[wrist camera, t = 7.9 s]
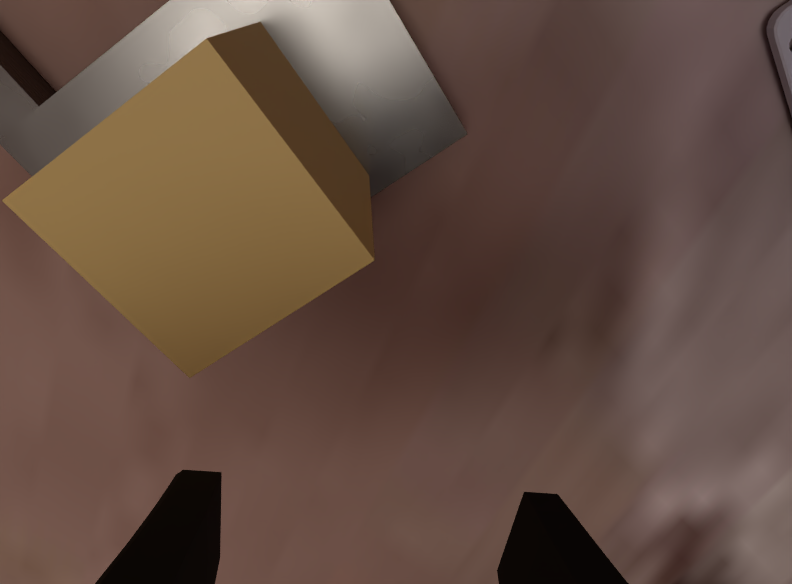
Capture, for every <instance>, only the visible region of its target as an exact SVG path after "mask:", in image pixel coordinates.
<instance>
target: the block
mask: <svg viewBox="0 0 792 584" xmlns="http://www.w3.org/2000/svg"><path fill="white" fill-rule="evenodd" d="M2 201H3V202H4V203H5V204H6V205H7V206H8V207H9V208H10V209H11V210H12V211H13V212H14V213H16V214H17V215H18V216H19V217H20V218H21V219H22V220H23V221H24V222H25V223H26V224H27V225H28V226H29V227H30V228H31V229H32V230H33V231H35V232H36V233H37V234H38V235H39V236H40V237H41V238H42V239H43V240H44V241H45V242H46V243H47V244H48V245H49V246H50V247H51V248H53V249H54V250H55V251H56V252H57V253H58V254H59V255H60V256H61V257H62V258H63V259H64V260H65V261H66V262H67V263H68V264H69V265H71V266H72V267H73V268H74V269H75V270H76V271H77V272H78V273H79V274H80V275H81V276H82V277H83V278H84V279H85V280H86V281H87V282H88V283H90V284H91V285H92V286H93V287H94V288H95V289H96V290H97V291H98V292H99V293H100V294H101V295H102V296H103V297H104V298H105V299H106V300H108V301H109V302H110V303H111V304H112V305H113V306H114V307H115V308H116V309H117V310H118V311H119V312H120V313H121V314H122V315H123V316H124V317H125V318H127V319H128V320H129V321H130V322H131V323H132V324H133V325H134V326H135V327H136V328H137V329H138V330H139V331H140V332H141V333H142V334H143V335H145V336H146V337H147V338H148V339H149V340H150V341H151V342H152V343H153V344H154V345H155V346H156V347H157V348H158V349H159V350H160V351H161V352H162V353H164V354H165V355H166V356H167V357H168V358H169V359H170V360H171V361H172V362H173V363H174V364H175V365H176V366H177V367H178V368H179V369H180V370H182V371H183V372H184V373H185V374H186V375H187V376H188V377H189V378H190V377H192V376H194V375H195V374H197V373H198V372H200V371H201V370H203V369H205V368H206V367H208V366H209V365H211V364H213V363H214V362H216V361H217V360H219V359H220V358H222V357H224V356H225V355H227V354H228V353H230V352H231V351H233V350H235V349H236V348H238V347H239V346H241V345H242V344H244V343H246V342H247V341H249V340H250V339H252V338H253V337H255V336H257V335H258V334H260V333H261V332H263V331H264V330H266V329H268V328H269V327H271V326H272V325H274V324H275V323H277V322H279V321H280V320H282V319H283V318H285V317H286V316H288V315H290V314H291V313H293V312H294V311H296V310H297V309H299V308H301V307H302V306H304V305H305V304H307V303H308V302H310V301H312V300H313V299H315V298H316V297H318V296H319V295H321V294H323V293H324V292H326V291H327V290H329V289H330V288H332V287H334V286H335V285H337V284H338V283H340V282H341V281H343V280H345V279H346V278H348V277H349V276H351V275H352V274H354V273H356V272H357V271H359V270H360V269H362V268H363V267H365V266H367V265H368V264H370V263H371V262H373V261H374V260H375V256H374V241H373V226H372V211H371V196H370V181H369V175H368V173H367V172H366V170H365V169H364V168H363V166H362V165H361V163H360V162H359V161H358V159H357V158H356V156H355V155H354V153H353V152H352V151H351V149H350V148H349V146H348V145H347V144H346V142H345V141H344V139H343V138H342V137H341V135H340V134H339V132H338V131H337V129H336V128H335V127H334V125H333V124H332V122H331V121H330V120H329V118H328V117H327V115H326V114H325V112H324V111H323V110H322V108H321V107H320V105H319V104H318V103H317V101H316V100H315V98H314V97H313V95H312V94H311V93H310V91H309V90H308V88H307V87H306V86H305V84H304V83H303V81H302V80H301V78H300V77H299V76H298V74H297V73H296V71H295V70H294V69H293V67H292V66H291V64H290V63H289V61H288V60H287V59H286V57H285V56H284V54H283V53H282V52H281V50H280V49H279V47H278V46H277V44H276V43H275V42H274V40H273V39H272V37H271V36H270V35H269V33H268V32H267V30H266V29H265V28H264V26H263V25H262V23H261V22H257V23H254V24H251V25H248V26H244V27H241V28H238V29H235V30H232V31H228V32H225V33H222V34H219V35H216V36H212V37H209V38H206V39H205V40H204V41H202V42H201V43H200V44H199V45H197V46H196V47H195V48H194V49H192V50H191V51H190V52H189V53H187V54H186V55H185V56H184V57H182V58H181V59H180V60H179V61H177V62H176V63H175V64H173V65H172V66H171V67H170V68H168V69H167V70H166V71H165V72H163V73H162V74H161V75H160V76H158V77H157V78H156V79H155V80H153V81H152V82H151V83H150V84H148V85H147V86H146V87H145V88H143V89H142V90H141V91H139V92H138V93H137V94H136V95H134V96H133V97H132V98H131V99H129V100H128V101H127V102H126V103H124V104H123V105H122V106H121V107H119V108H118V109H117V110H116V111H114V112H113V113H112V114H111V115H109V116H108V117H107V118H105V119H104V120H103V121H102V122H100V123H99V124H98V125H97V126H95V127H94V128H93V129H92V130H90V131H89V132H88V133H87V134H85V135H84V136H83V137H82V138H80V139H79V140H78V141H76V142H75V143H74V144H73V145H71V146H70V147H69V148H68V149H66V150H65V151H64V152H63V153H61V154H60V155H59V156H58V157H56V158H55V159H54V160H53V161H51V162H50V163H49V164H48V165H46V166H45V167H44V168H42V169H41V170H40V171H39V172H37V173H36V174H35V175H34V176H32V177H31V178H30V179H29V180H27V181H26V182H25V183H24V184H22V185H21V186H20V187H19V188H17V189H16V190H15V191H14V192H12V193H11V194H10V195H8V196H7V197H6V198H5V199H3V200H2Z"/></svg>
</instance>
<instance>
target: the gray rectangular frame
mask: <svg viewBox="0 0 792 584" xmlns="http://www.w3.org/2000/svg"><path fill="white" fill-rule="evenodd" d="M257 22H261V23H262V25H263V26H264V28H265V29H266V30H267V32H268V33H269V35H270V36H271V37H272V39H273V40H274V42H275V43H276V44H277V46H278V47H279V49H280V50H281V52H282V53H283V54H284V56H285V57H286V59H287V60H288V61H289V63H290V64H291V66H292V67H293V69H294V70H295V71H296V73H297V74H298V76H299V77H300V78H301V80H302V81H303V83H304V84H305V86H306V87H307V88H308V90H309V91H310V93H311V94H312V95H313V97H314V98H315V100H316V101H317V103H318V104H319V105H320V107H321V108H322V110H323V111H324V112H325V114H326V115H327V117H328V118H329V120H330V121H331V122H332V124H333V125H334V127H335V128H336V129H337V131H338V132H339V134H340V135H341V137H342V138H343V139H344V141H345V142H346V144H347V145H348V146H349V148H350V149H351V151H352V152H353V153H354V155H355V156H356V158H357V159H358V161H359V162H360V163H361V165H362V166H363V168H364V169H365V170H366V172H367V173H368V175H369V181H370V196H371V197H372V196H374V195H375V194H377V193H378V192H380V191H381V190H383V189H384V188H386V187H387V186H389V185H390V184H392V183H394V182H395V181H397V180H398V179H400V178H401V177H403V176H404V175H406V174H407V173H409V172H410V171H412V170H413V169H415V168H416V167H418V166H419V165H421V164H423V163H424V162H426V161H427V160H429V159H430V158H432V157H433V156H435V155H436V154H438V153H439V152H441V151H442V150H444V149H445V148H447V147H449V146H450V145H452V144H453V143H455V142H456V141H458V140H459V139H461V138H462V137H464V136H465V135H467V132H466V131H465V129H464V127H463V125H462V124H461V122H460V120H459V119H458V117H457V115H456V113H455V112H454V110H453V108H452V107H451V105H450V103H449V102H448V100H447V98H446V96H445V95H444V93H443V91H442V90H441V88H440V86H439V84H438V83H437V81H436V79H435V78H434V76H433V74H432V73H431V71H430V69H429V67H428V66H427V64H426V62H425V61H424V59H423V57H422V55H421V54H420V52H419V50H418V49H417V47H416V45H415V43H414V42H413V40H412V38H411V37H410V35H409V33H408V32H407V30H406V28H405V26H404V25H403V23H402V21H401V20H400V18H399V16H398V14H397V13H396V11H395V9H394V8H393V6H392V4H391V3H390V1H389V0H170V1H168V2H167V3H166V4H165V5H163V6H162V7H161V8H160V9H159V10H157V11H156V12H155V13H154V14H152V15H151V16H150V17H149V18H147V19H146V20H145V21H144V22H142V23H141V24H140V25H139V26H138V27H136V28H135V29H134V30H133V31H131V32H130V33H129V34H128V35H126V36H125V37H124V38H123V39H122V40H120V41H119V42H118V43H117V44H115V45H114V46H113V47H112V48H110V49H109V50H108V51H107V52H106V53H104V54H103V55H102V56H101V57H99V58H98V59H97V60H96V61H94V62H93V63H92V64H91V65H89V66H88V67H87V68H86V69H85V70H83V71H82V72H81V73H80V74H78V75H77V76H76V77H75V78H73V79H72V80H71V81H70V82H69V83H67V84H66V85H65V86H64V87H62V88H61V89H60V90H59V91H57V92H55V91H54V90H53V89H52V88H51V87H50V86H49V85H48V83H47V82H46V81H45V80H44V79H43V78H42V77H41V76H40V75H39V74H38V72H37V71H36V70H35V69H34V68H33V67H32V66H31V65H30V64H29V63H28V61H27V60H26V59H25V58H24V57H23V56H22V55H21V54H20V53H19V52H18V50H17V49H16V48H15V47H14V46H13V45H12V44H11V43H10V42H9V40H8V39H7V38H6V37H5V36H4V35H3V34H2V33H1V32H0V145H1V146H2V147H3V148H4V149H5V150H6V151H7V152H8V153H9V154H10V155H11V156H12V157H13V158H14V159H15V160H16V161H17V162H18V163H19V164H20V165H21V166H22V167H23V168H24V169H25V170H26V171H27V172H28V173H29V174H30V175H31V176H34V175H35V174H36V173H37V172H39V171H40V170H41V169H42V168H44V167H45V166H46V165H48V164H49V163H50V162H51V161H53V160H54V159H55V158H56V157H58V156H59V155H60V154H61V153H63V152H64V151H65V150H66V149H68V148H69V147H70V146H71V145H73V144H74V143H75V142H76V141H78V140H79V139H80V138H82V137H83V136H84V135H85V134H87V133H88V132H89V131H90V130H92V129H93V128H94V127H95V126H97V125H98V124H99V123H100V122H102V121H103V120H104V119H105V118H107V117H108V116H109V115H111V114H112V113H113V112H114V111H116V110H117V109H118V108H119V107H121V106H122V105H123V104H124V103H126V102H127V101H128V100H129V99H131V98H132V97H133V96H134V95H136V94H137V93H138V92H139V91H141V90H142V89H143V88H145V87H146V86H147V85H148V84H150V83H151V82H152V81H153V80H155V79H156V78H157V77H158V76H160V75H161V74H162V73H163V72H165V71H166V70H167V69H168V68H170V67H171V66H172V65H173V64H175V63H176V62H177V61H179V60H180V59H181V58H182V57H184V56H185V55H186V54H187V53H189V52H190V51H191V50H192V49H194V48H195V47H196V46H197V45H199V44H200V43H201V42H202V41H204V40H205V39H206V38H209V37H212V36H216V35H219V34H222V33H225V32H228V31H232V30H235V29H238V28H241V27H244V26H248V25H251V24H254V23H257Z"/></svg>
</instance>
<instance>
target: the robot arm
mask: <svg viewBox="0 0 792 584" xmlns="http://www.w3.org/2000/svg"><path fill="white" fill-rule="evenodd" d="M767 37H768V40H769V43H770V47H771V50H772V53H773V57H774V60H775V63H776V66H777V70H778V73H779V76H780V80H781V83H782V86H783V90H784V93H785V96H786V99H787V103H788V106H789V109H790V113H791V116H792V51H791V50H790V49H789V43H790V41H791V39H792V0H790V1H789V2H787V3H785V4H784V5H782V6H781V7H779V8H778V9H777V10H776V11H775V12H774V13H773V14H772V16H771V17H770V19H769V21H768V25H767ZM220 526H221V472H209V471H193V470H182V471H181V472H179V473H178V474H176V476H175V477H174V479H173V480H172V482H171V483H170V485H169V486H168V488H167V489H166V491H165V492H164V494H163V495H162V497H161V498H160V500H159V501H158V503H157V504H156V505H155V507H154V508H153V510H152V511H151V512H150V514H149V515H148V516H147V518H146V519H145V521H144V522H143V523H142V525H141V526H140V527H139V529H138V530H137V531H136V533H135V534H134V535H133V537H132V538H131V539H130V541H129V542H128V543H127V544H126V546H125V547H124V548H123V549H122V551H121V552H120V553H119V554H118V556H117V557H116V558H115V559H114V561H113V562H112V563H111V564H110V566H109V567H108V568H107V569H106V571H105V572H104V573H103V574H102V576H101V577H100V578H99V579H98V581H97V582H96V583H95V584H215V580H216V575H217V570H218V565H219V560H220ZM497 572H498V580H499V584H628V583H627V582H626V580H625V579H624V578H623V577H622V575H621V574H620V573H619V572H618V570H617V569H616V568H615V567H614V565H613V564H612V563H611V562H610V560H609V559H608V558H607V557H606V555H605V554H604V553H603V552H602V550H601V549H600V548H599V546H598V545H597V544H596V543H595V541H594V540H593V539H592V537H591V536H590V535H589V534H588V532H587V531H586V530H585V529H584V527H583V526H582V525H581V523H580V522H579V521H578V520H577V518H576V517H575V516H574V514H573V513H572V512H571V511H570V509H569V508H568V507H567V505H566V504H565V503H564V502H563V500H562V499H561V498H560V497H559V495H558V494H548V493H532V492H524V494H523V497H522V500H521V502H520V505H519V508H518V511H517V514H516V517H515V520H514V523H513V526H512V529H511V532H510V535H509V538H508V540H507V543H506V546H505V549H504V552H503V555H502V558H501V561H500V564H499V567H498V570H497Z"/></svg>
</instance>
